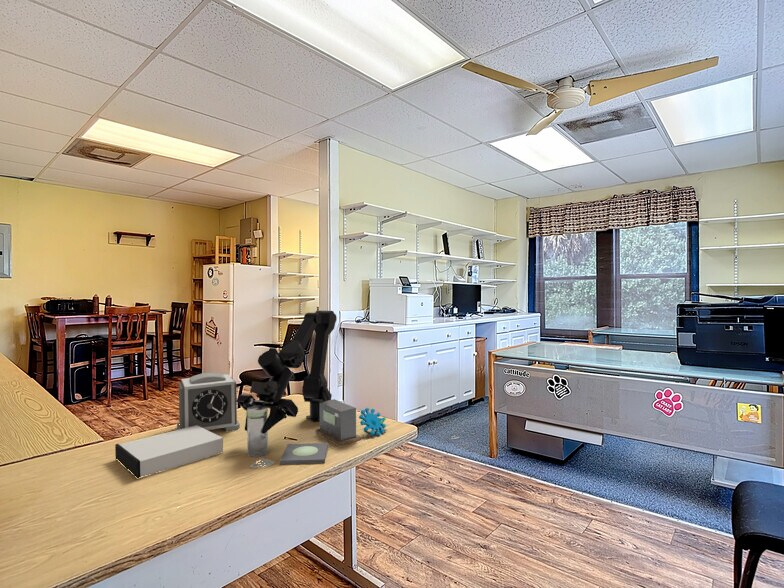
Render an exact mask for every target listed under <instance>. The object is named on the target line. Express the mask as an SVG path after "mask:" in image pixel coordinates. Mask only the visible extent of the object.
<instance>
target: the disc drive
mask: <svg viewBox="0 0 784 588" xmlns="http://www.w3.org/2000/svg"><path fill="white" fill-rule="evenodd" d="M114 450H115V460H116V459H118V460H119V461H120V462H121V463H122V464H123V465H124V466H125V467H126V468H127V469H129V470H130V471H131V472H132V473H133V474H134V475H135V476H136V477H137V478H139V477H141V476H145V475H149V474H153V473H156V472H159V471H162V472H164V471H163V470H166V471H168V470H167V469H169V470H172V469H175V468H178V467H181V465H182V466H184V465H187V463H188V464H191V463H195V462H197V460H198V461H201V460H204V459H206V457H207V458H210V457H209V456H211V457H213V456H212V455H214V456H216V455H215V454H217V455H219V454H218V453H220V454H222V453H221V452H223V453H224V438H223V437H222V436H220V435H218V434H216V433H214V432H212V431H210V430H206V429H204V428H202V427H200V426H198V425H195V426H191V427H187V428H183V429H179V430H177V429H175V430H172V431H168V432H164V433H159V434H156V435H152V436H151V435H150V436H147V437H143V438H140V439H136V440H131V441H128V442H123V443H120V444H119V443H116V444H115V449H114ZM203 458H204V459H203ZM200 459H201V460H200ZM194 461H195V462H194ZM177 466H178V467H177ZM174 467H175V468H174ZM171 468H172V469H171ZM159 473H160V472H159ZM156 474H157V473H156ZM153 475H154V474H153ZM149 476H150V475H149Z"/></svg>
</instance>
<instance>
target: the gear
mask: <svg viewBox="0 0 784 588" xmlns="http://www.w3.org/2000/svg"><path fill="white" fill-rule="evenodd" d="M369 411H370V412H369ZM375 412H376V410H375V409H374V408H373V407H372V408H371V409H370V408H369V407H365V408H364V409H362V410H361V411H360V415H359V416H358V419H360V425H361V426H365V427H363V428H362V429H363V431H364V432H368V431H369V430H370V429H371V431H369V435H372V436H374V435H375V436H378V437H379V436H381V434H384V432H385V431H386V430H385V429H386V427H387V425H386V424H385V421H386V420H387V417H386V416H383V417H381V413H380V412H377V413H376V414H374V413H375ZM380 417H381V418H380ZM375 432H376V433H375Z"/></svg>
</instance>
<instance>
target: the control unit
mask: <svg viewBox="0 0 784 588" xmlns="http://www.w3.org/2000/svg"><path fill="white" fill-rule="evenodd" d="M315 432H316V433H315V434H317V435H318V436H320V435H321V436H320V437H322V436H323V438H324V439H326V440H328V441H329V440H330V442H331V443H333V444H335V445H336V446H339V447H340V446H343V445H346V444H349V443H353V442H357V441H361V437H362V436H361V435H360V434H357V407H354V406H352V405H349V404H347V403H345V402H342V401H340V400H337V399H331V400H328V401H323V402H320V421H319V428H317V429H315Z"/></svg>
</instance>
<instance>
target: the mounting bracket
mask: <svg viewBox="0 0 784 588" xmlns="http://www.w3.org/2000/svg"><path fill="white" fill-rule="evenodd" d="M256 460H257V461H259V460H261V461H260V462H258V463H261V464H258V463H257V464H255V463H256V462H253V463H252V464H250V466H249V468H250V469H252V470H253V468H254V469H259V468H262V467H263V466H264V465H266V466H264V467H266V468H268V467H270V466H272V465H275V463H276V462H275V461H273V460H270V459H267V458H264V457H262V458H261V457H260V458H258V459H256ZM262 461H263V462H262ZM264 463H265V464H264ZM257 465H258V466H257ZM260 465H262V466H261V467H260Z"/></svg>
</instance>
